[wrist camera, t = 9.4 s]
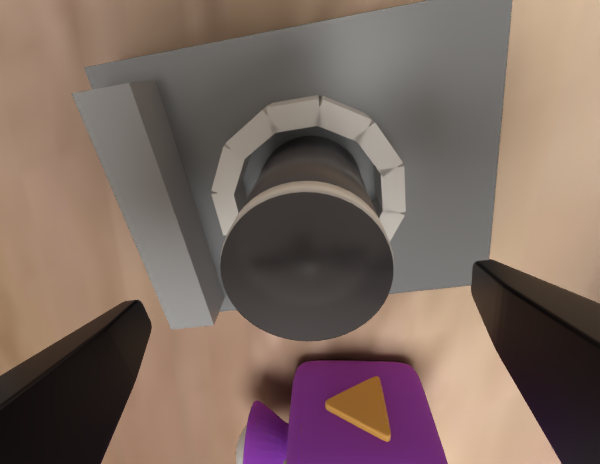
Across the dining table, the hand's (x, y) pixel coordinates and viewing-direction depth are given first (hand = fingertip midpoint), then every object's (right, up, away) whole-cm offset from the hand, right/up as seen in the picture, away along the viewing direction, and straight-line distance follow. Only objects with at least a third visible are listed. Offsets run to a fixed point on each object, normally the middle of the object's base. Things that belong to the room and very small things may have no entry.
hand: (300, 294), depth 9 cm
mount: (+1, +5, +11) cm, 12 cm away
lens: (+1, +4, +8) cm, 9 cm away
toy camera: (+3, -12, +19) cm, 23 cm away
